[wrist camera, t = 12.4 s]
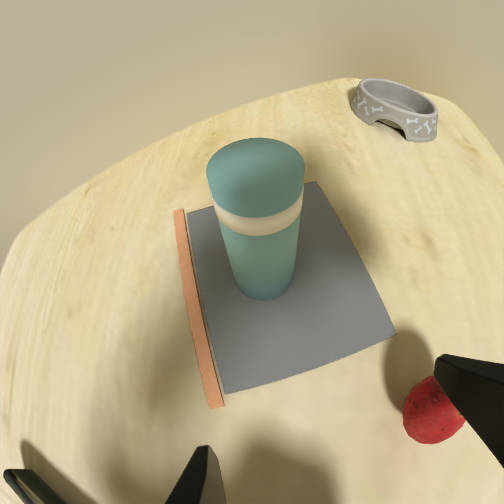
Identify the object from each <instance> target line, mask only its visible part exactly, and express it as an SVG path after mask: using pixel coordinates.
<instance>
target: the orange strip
mask: <svg viewBox="0 0 504 504" xmlns="http://www.w3.org/2000/svg"><path fill="white" fill-rule="evenodd" d="M173 214H174V223H175V231H176V239H177V246H178V253H179V260H180V267H181V274H182V280H183V286H184V292H185V298H186V304H187V309H188V314H189V320H190V325H191V330H192V335H193V340H194V345H195V349H196V354H197V358H198V363H199V367H200V372H201V376H202V380H203V384H204V388H205V392H206V396H207V400H208V404H209V408H210V409H211V408H216V407H221V406H224V403H223V400H222V396H221V392H220V388H219V385H218V381H217V377H216V373H215V369H214V365H213V361H212V357H211V352H210V348H209V344H208V340H207V335H206V331H205V326H204V322H203V317H202V312H201V307H200V303H199V298H198V293H197V287H196V282H195V277H194V272H193V266H192V261H191V255H190V249H189V243H188V237H187V231H186V224H185V218H184V211H183V209H180V210H177V211H174V212H173Z"/></svg>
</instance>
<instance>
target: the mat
mask: <svg viewBox="0 0 504 504" xmlns="http://www.w3.org/2000/svg"><path fill="white" fill-rule="evenodd" d="M187 219H188V225H189V231H190V237H191V243H192V249H193V254H194V260H195V265H196V270H197V276H198V281H199V286H200V291H201V296H202V300H203V305H204V310H205V314H206V319H207V323H208V328H209V332H210V337H211V341H212V345H213V349H214V353H215V358H216V362H217V366H218V370H219V373H220V377H221V381H222V385H223V389H224V392H225V394H229V393H234V392H238V391H242V390H246V389H250V388H253V387H257V386H261V385H264V384H268V383H271V382H275V381H278V380H281V379H285V378H288V377H291V376H294V375H297V374H300V373H303V372H306V371H309V370H312V369H315V368H317V367H320V366H323V365H326V364H328V363H331V362H334V361H336V360H339V359H341V358H344V357H346V356H349V355H351V354H354V353H356V352H358V351H361V350H363V349H365V348H368V347H370V346H372V345H374V344H377V343H379V342H381V341H383V340H385V339H387V338H389V337H392V336H394V335H395V334H397V333H396V331H395V328H394V326H393V324H392V322H391V319H390V317H389V315H388V313H387V311H386V308H385V306H384V304H383V302H382V300H381V298H380V296H379V294H378V292H377V289H376V287H375V285H374V283H373V281H372V279H371V277H370V275H369V273H368V271H367V269H366V268H365V266H364V264H363V262H362V260H361V258H360V256H359V254H358V252H357V250H356V249H355V247H354V245H353V243H352V241H351V240H350V238H349V236H348V234H347V232H346V231H345V229H344V227H343V225H342V224H341V222H340V220H339V218H338V217H337V215H336V213H335V212H334V210H333V208H332V207H331V205H330V203H329V202H328V200H327V198H326V197H325V195H324V193H323V192H322V190H321V189H320V187H319V185H318V184H317V182H311V183H307V184H304V190H303V201H302V208H301V213H300V223H299V232H298V241H297V250H296V258H295V266H294V274H293V280H292V283H291V285H290V287H289V288H288V290H287V291H286V292H285V293H284V294H282V295H281V296H279V297H277V298H275V299H272V300H265V301H261V300H255V299H252V298H250V297H248V296H246V295H244V294H243V293H242V292H241V291H240V290H239V288H238V287H237V285H236V282H235V279H234V275H233V272H232V268H231V264H230V261H229V257H228V254H227V250H226V246H225V243H224V239H223V236H222V232H221V228H220V225H219V221H218V217H217V215H216V212H215V209H214V206H212V207H209V208H205V209H201V210H198V211H194V212H191V213H187Z"/></svg>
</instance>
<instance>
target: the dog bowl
mask: <svg viewBox="0 0 504 504" xmlns="http://www.w3.org/2000/svg"><path fill="white" fill-rule="evenodd" d="M350 107H351V110H352V111H353V113H354V114H355V115H356V116H357V117H358V118H359V119H361V120H362V121H363V122H365V123H366V124H368V125H371V124H372V123H373V122H374V121H376V120H379V121H381V122H383V123H385V124H387V125H389V126H392V127H395V128H398V129H401V130H403V131H404V132H405V135H406V139H407V140H408V141H411V142H429V141H432V140H434V139H435V138H436V134H437V120H438V110H437V107H436V106H435V104H434V103H433V102H432V101H431V100H429V99H428V98H427V97H426V96H424V95H423V94H421V93H420V92H418V91H416V90H414V89H412V88H410V87H408V86H405V85H403V84H400V83H397V82H393V81H390V80H385V79H377V78H369V79H364V80H362V81H360V83H359V85H358V87H357V89H356V92H355V94H354V96H353V99H352V100H351V103H350Z"/></svg>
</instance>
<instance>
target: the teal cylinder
mask: <svg viewBox="0 0 504 504" xmlns="http://www.w3.org/2000/svg"><path fill="white" fill-rule="evenodd" d="M304 169H305V167H304V161H303V159H302V157H301V155H300V154H299V152H298V151H297V150H295V149H294V148H293V147H291V146H290V145H288V144H286V143H284V142H281V141H278V140H274V139H268V138H249V139H243V140H239V141H236V142H233V143H230V144H228V145H226V146H224V147H223V148H221V149H220V150H218V151H217V152H216V153H215V154H214V155H213V156H212V157H211V159H210V160H209V162H208V165H207V169H206V175H207V179H208V183H209V187H210V194H211V198H212V201H213V205H214V209H215V212H216V215H217V217H218V221H219V225H220V228H221V232H222V236H223V239H224V243H225V246H226V250H227V254H228V257H229V261H230V264H231V268H232V272H233V275H234V279H235V282H236V285H237V287H238V288H239V290H240V291H241V292H242V293H243V294H244V295H246V296H248V297H250V298H252V299H255V300H261V301H265V300H272V299H275V298H277V297H279V296H281V295H282V294H284V293H285V292H286V291H287V290H288V288H289V287H290V285H291V283H292V280H293V274H294V266H295V258H296V250H297V241H298V232H299V223H300V213H301V208H302V201H303V190H304Z"/></svg>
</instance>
